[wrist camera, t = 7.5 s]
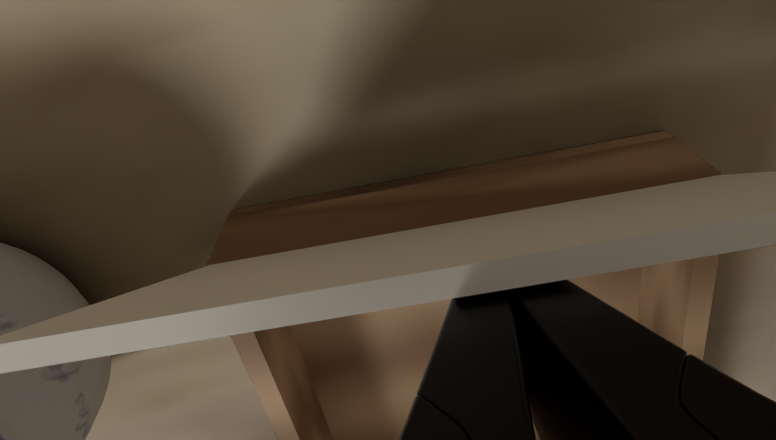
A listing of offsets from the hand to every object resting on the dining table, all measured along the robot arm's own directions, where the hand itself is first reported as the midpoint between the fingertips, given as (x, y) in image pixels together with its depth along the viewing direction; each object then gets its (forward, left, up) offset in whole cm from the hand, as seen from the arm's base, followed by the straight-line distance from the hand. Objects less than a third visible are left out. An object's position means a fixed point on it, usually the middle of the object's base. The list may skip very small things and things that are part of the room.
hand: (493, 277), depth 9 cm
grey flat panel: (-1, 0, -2) cm, 3 cm away
